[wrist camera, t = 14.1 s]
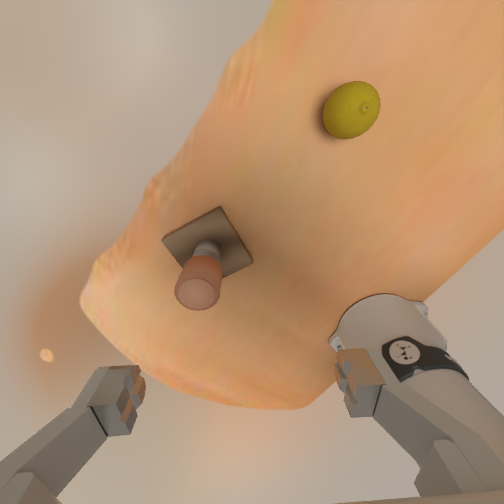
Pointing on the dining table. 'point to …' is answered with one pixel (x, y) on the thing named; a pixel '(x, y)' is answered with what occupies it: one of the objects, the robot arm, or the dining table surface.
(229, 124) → the dining table surface
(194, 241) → the stud base
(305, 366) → the dining table surface
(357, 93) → the lemon
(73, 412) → the robot arm
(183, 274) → the cap
